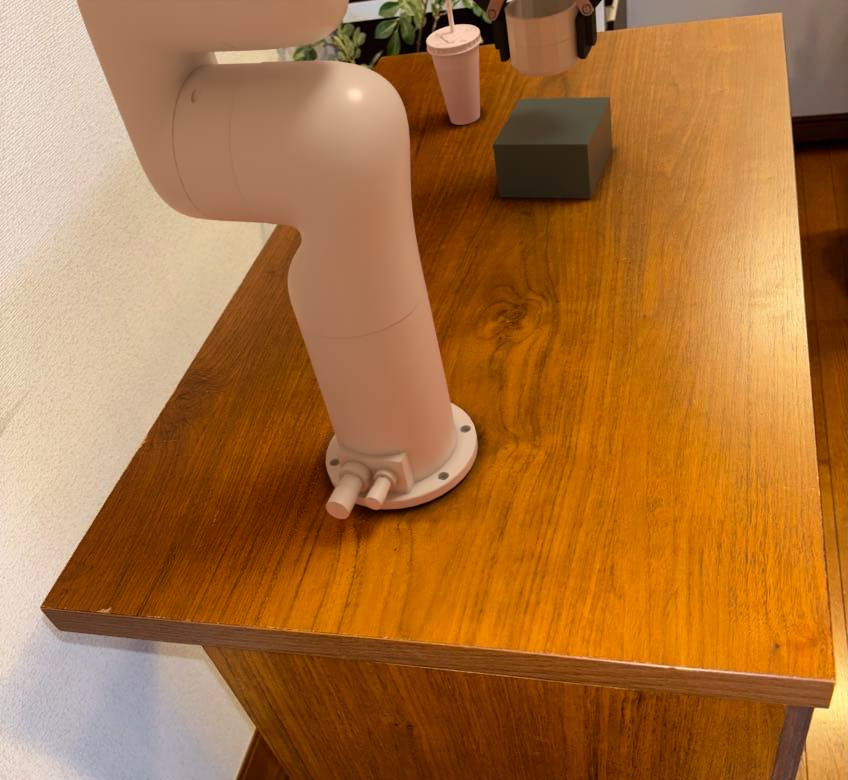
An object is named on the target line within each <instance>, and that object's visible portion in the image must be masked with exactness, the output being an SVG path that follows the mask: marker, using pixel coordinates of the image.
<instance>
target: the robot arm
mask: <svg viewBox="0 0 848 780" xmlns="http://www.w3.org/2000/svg"><path fill="white" fill-rule="evenodd" d="M472 1H473V2H474V4H476V5H477V6H478V7H479V9H481V10H482V11H483V12H484V13H485V16H486V18H487V19H488V20H489V21H491V25H492V26H491V27H492V34H493V35H492V36H493V42H494V49H495V50H499V51H498V52H499V60H500V62H501V63H505V62H508V61H510V54H509V45H508V36H507V28H506V20H505V11H504V9H505V7H506V6H507V4H508V3H507V2H508V0H472ZM574 1H575V3H576V5H577V6H578V8H579V13H578V15H577V17H576V36H577V51H578V58H580V59H579V60H586V59H587V58H588V56H589V54H590V52H591V51H592V48H593V47H595V46H596V45H597V41H598V26H597V7H598V6H599V5H600V4H601V2H603V0H574ZM76 3H77V6H78V9H79V13H80V15H81V18H82V21H83V24H84V26H85V30H86V32H87V35H88V37H89V39H90V41H91V45H92V47H93V50H94V52H95V55H96V58H97V60H98V62H99V65H100V67H101V70H102V73H103V74H104V77H105V80H106V82H107V85H108V88H109V89H110V92H111V95H112V98H113V99H114V102H115V105H116V107H117V110H118V112H119V115H120V117H121V120H122V122H123V125H124V127H125V130H126V132H127V134H128V137H129V139H130V143H131V144H132V147H133V149H134V152H135V154H136V157H137V159H138V161H139V163H140V165H141V168H142V170H143V172H144V174H145V176H146V178H147V179H148V181H149V183H150V185H151V186H152V188H153V189H154V191H155V192H156V194H157V195H158V196H159V198H160V199H161V200H162V201H163V202H164V203H165V204H166V205H167V206H168V207H169V208H171V209H173V210H174V211H175V212H177V213H179V214H181V215H184V216H187V217H190V218H194V219H200V220H207V221H218V222H234V223H235V222H238V223H255V224H256V223H258V224H269V225H278V226H279V225H280V226H287V227H292V228H294V229H296V230H297V231H298V232H299V234H300V237H301V242H300V245H299V247H298V248H297V250H296V252H295V253H294V255H293V257H292V259H291V261H290V265H289V268H288V272H287V291H288V297H289V300H290V304H291V307H292V311H293V314H294V317H295V319H296V321H297V324H298V328H299V330H300V334H301V337H302V340H303V342H304V345H305V348H306V351H307V355H308V357H309V360H310V363H311V367H312V369H313V373H314V375H315V378H316V382H317V385H318V388H319V390H320V393H321V396H322V399H323V402H324V405H325V408H326V411H327V415H328V417H329V420H330V423H331V426H332V429H333V433H334V435H333V436H332V438H331V439H330V441H329V443H328V447H327V449H326V451H325V452H326V453H325V466H326V471H327V474H328V477H329V481H330V482H331V484H332V486H333V488H334V489H333V491H332V493H331V495H330V496H329V498H328V500H327V502H326V504H325V509H326V512H327V513H328V514H329V515H330V516H332V517H334V518H336V519H338V520H345V519H347V518H348V517H349V516H350V514H351V513H352V511H353V509H354V507H355V505H358V506H362V507H366V508H369V509H370V510H371V509H372V510H374V511H379V510H399V509H406V508H409V507H410V508H412V507H415V506H419V505H423V504H425V503H428V502H430V501H433V500H435V499H436V498H439V497H441V496H443V495H444V494H446V493H447V492H449V491H450V490H452V489H454V488H455V487H456V486H457V485H458V484H459V483H460V482H461V481H462V480H463V479H465V477H466V476H467V474H468V473H469V472H470V470H471V469H472V467H473V465H474V463H475V461H476V458H477V454H478V450H479V449H478V448H479V442H478V434H477V431H476V427H475V424H474V422H473V421H472V419H471V417H470V416H469V415H468V413H466V411H464V409H462V408H461V407H459V406H457V405H456V404H454V403H452V402H451V399H450V398H451V397H450V394H449V393H450V392H449V390H448V389H449V388H448V386H447V385H448V384H447V379H446V375H445V370H444V364H443V360H442V356H441V351H440V346H439V341H438V337H437V332H436V327H435V323H434V318H433V313H432V309H431V304H430V299H429V294H428V289H427V284H426V281H425V276H424V271H423V267H422V261H421V256H420V251H419V246H418V240H417V235H416V228H415V227H416V226H415V219H414V212H413V200H412V199H413V198H412V181H411V177H412V176H411V139H410V137H411V136H410V127H409V121H408V116H407V110H406V108H405V105H404V102H403V100H402V97H401V96H400V94H399V92H398V91H397V90H396V88H395V87H394V85H392V83H391V82H390V81H389V80H388V79H386V78H385V77H384V76H382V75H381V74H380V73H378V72H376V71H374V70H373V69H371V68H368V67H366V66H362V65H359V64H356V63H350V62H345V61H339V60H324V59H323V60H290V61H289V60H285V61H284V60H282V61H280V60H279V61H262V62H243V63H242V62H241V63H240V62H239V63H219V61H218V59H217V56H216V53H225V52H249V51H251V52H252V51H270V50H279V49H287V48H288V49H289V48H297V47H302V46H307V45H311V44H313V43H316V42H319V41H322V40H323V39H325V38H326V37H328V36H329V35H330V34H332V33H333V32H335V31H336V30H337V29H338V28H339V26H340V25H341V23H342V22H343V19H344V18H345V16H346V14H347V13H348V9H349V3H350V0H76Z"/></svg>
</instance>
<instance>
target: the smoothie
mask: <svg viewBox="0 0 848 780" xmlns="http://www.w3.org/2000/svg"><path fill="white" fill-rule="evenodd" d="M451 1H452V0H445V5H446V13H447V18H448V25H447V26H444V27H442V28H439V29H436V30H435V31H433V32H432V33H430V34H429V35H428V37H426V40H425V43H426V51H427V53H428V54H430V55H431V59H432V63H433V66H434V69H435V73H436V77H437V80H438V83H439V86H440V90H441V93H442V96H443V97H442V98H443V100H444V103H445V107H446V111H447V114H448V117H449V121H450V123H452V124H454V125H459V126H461V125H462V126H463V125H469V124H471V123H475V122H476V121H478V120H479V119H480V117H481V97H480V96H481V87H480V86H481V85H480V44H481V42H482V36H481V30H480V28H479V27H477V26H476V25H473V24H469V23H468V24H466V23H461V24H460V23H459V24H455V21H454V14H453V9H452V2H451Z"/></svg>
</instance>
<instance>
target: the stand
mask: <svg viewBox="0 0 848 780" xmlns="http://www.w3.org/2000/svg"><path fill="white" fill-rule="evenodd" d="M612 132H613V131H612V109H611V97H610V96H599V97H598V96H596V97H550V98H549V97H548V98H541V97H540V98H520V99H518V101H517V103H516V104H515V106H514V108H513V110H512V111H511V113H510V115H509V117H508V118H507V119H506V122H504V125H503V126H502V128H501V130H500V132H499V133H498V135H497V136H496V138H495V139H494V141H493V143H492V149H493V157H494V164H495V172H496V179H497V186H498V192H499V194H498V195H499V198H523V199H526V198H527V199H529V198H530V199H576V200H577V199H581V200H583V199H584V200H585V199H586V200H587V199H588V200H589V199H592V197H593V194H594V192H595V190H596V188H597V186H598V184H599V181H600V179H601V176H602V174H603V172H604V169H605V168H606V166H607V163H608V161H609V159H610V157H611V155H612V152H613V133H612Z"/></svg>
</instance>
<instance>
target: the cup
mask: <svg viewBox="0 0 848 780" xmlns="http://www.w3.org/2000/svg"><path fill="white" fill-rule="evenodd" d="M506 4H507V6H506V7H505V9H504V11H505V20H506V28H507V36H508V45H509V54H510V58H509V61H510V65H511V68H513V69H514V70H515V71H516V72H517V73H518V74H519V75H522V76H526V77H533V78H534V77H536V78H537V77H539V78H541V77H548V76H555V75H557V74H561V73H563V72H565V71H568V70H570V69H572V68H573V67H574V66H576V65H577V64H578V63H579V61H580V60H581V59H580V58H578V51H577V36H576V17H577V15H578V13H579V8H578V6H577V5H576V3H575V1H574V0H511V1H509V2H508V3H506Z"/></svg>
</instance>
